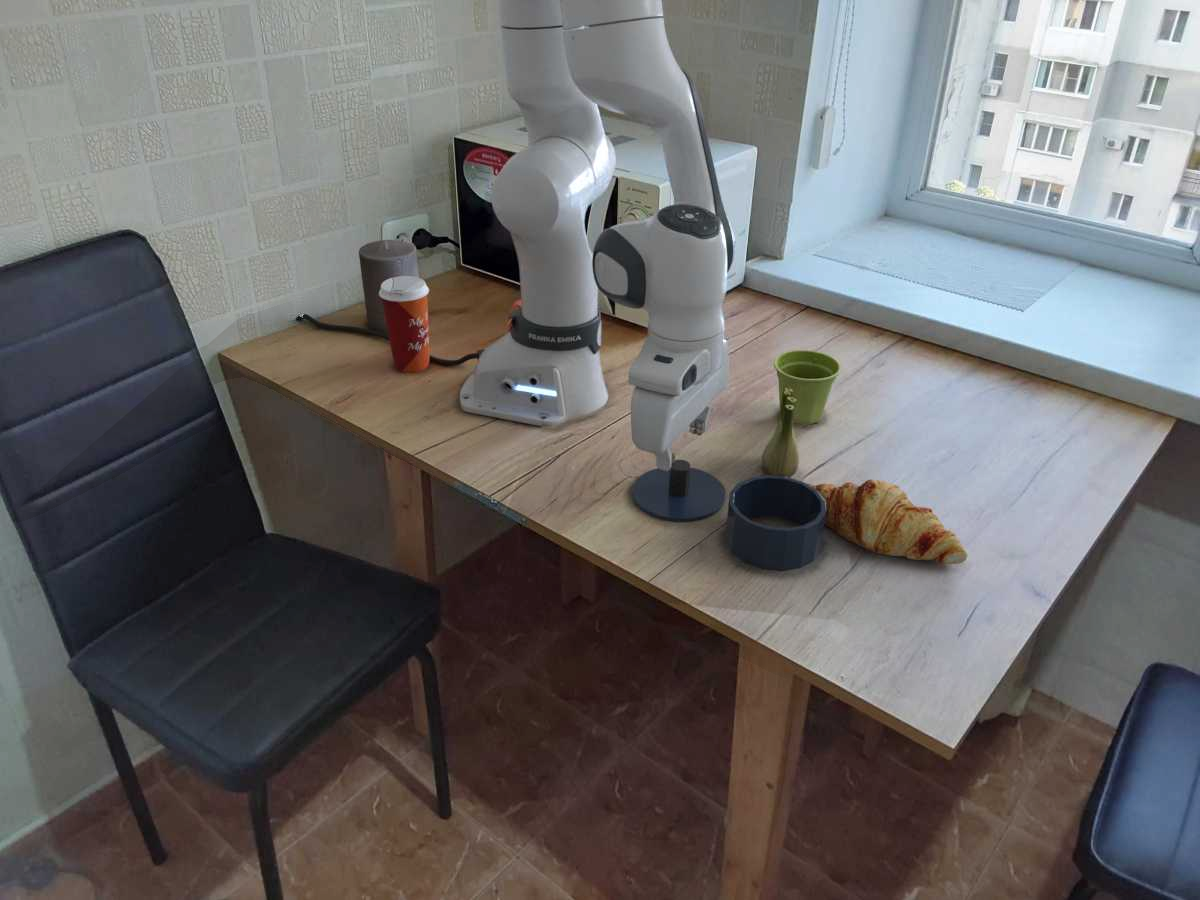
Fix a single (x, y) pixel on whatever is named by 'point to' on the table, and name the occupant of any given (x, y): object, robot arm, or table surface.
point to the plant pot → (807, 381)
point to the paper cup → (407, 321)
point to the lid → (678, 493)
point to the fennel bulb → (783, 441)
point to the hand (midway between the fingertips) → (682, 449)
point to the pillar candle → (384, 274)
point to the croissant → (888, 522)
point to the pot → (775, 543)
